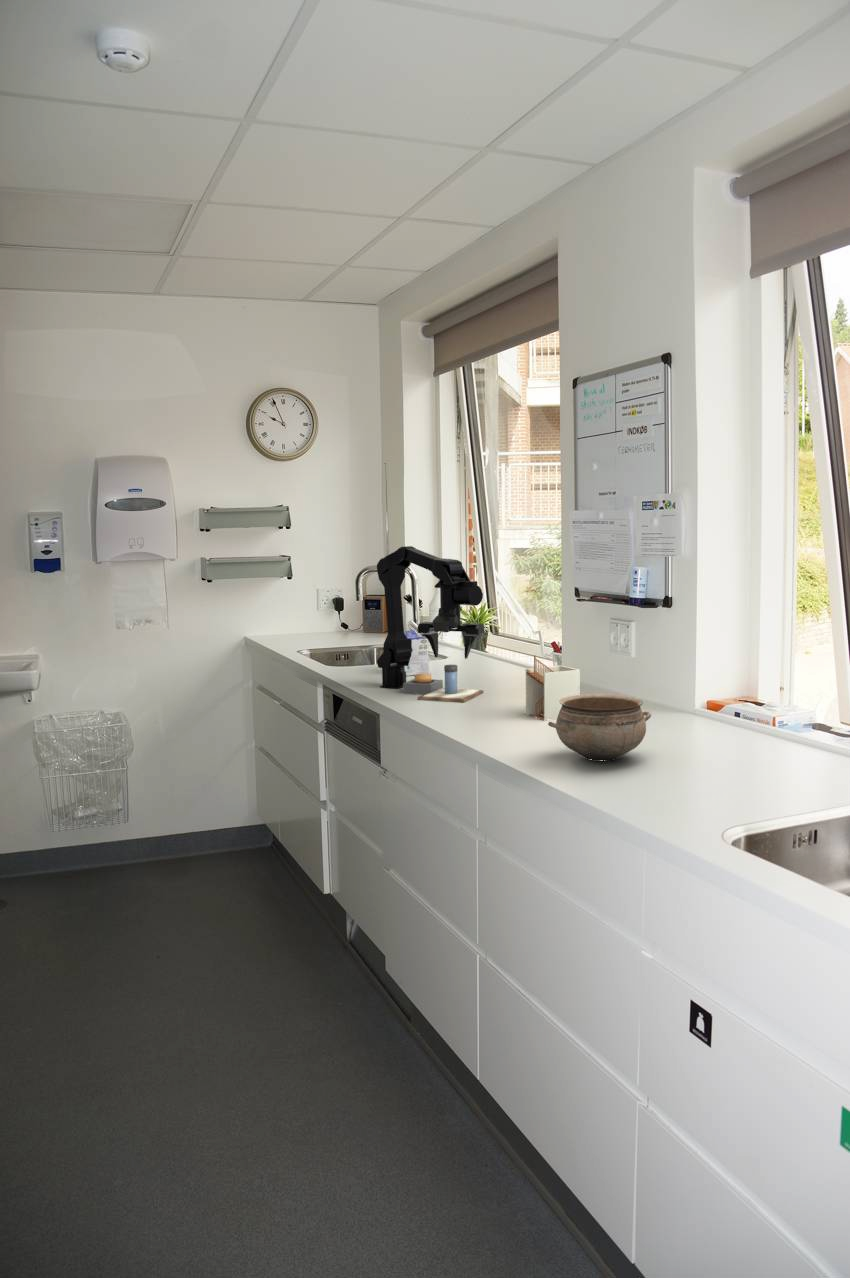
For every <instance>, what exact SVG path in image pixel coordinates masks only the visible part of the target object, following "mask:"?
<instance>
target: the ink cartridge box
mask: <svg viewBox="0 0 850 1278" xmlns="http://www.w3.org/2000/svg"><path fill="white" fill-rule="evenodd" d="M410 633H411V634H410ZM404 634H405V635H406V637H407V638H408V639H409V638H411V640H412V650H413V652H412V654H411V657H410V661H409V665H408V666H405V671H406V677H410V676H415V674H430V666H429V661H430V660H429V641H428V639H427V638H426V637H425V636H418V635H417V633H416V630H404Z"/></svg>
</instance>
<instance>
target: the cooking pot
mask: <svg viewBox="0 0 850 1278" xmlns="http://www.w3.org/2000/svg"><path fill="white" fill-rule="evenodd" d="M559 702H560V704H562V707H561V709H560V712H559V714H558V717H557V719H556V721H555V722H553V721H549V722H548V723H547V724H548V725H547V726H548V727H551V728H555V731H556V734H557V736H558V738H559V740H560V742H562V744H563V745H565V746H566V748H568V749H570V750H571V751H572V752H574V753H575V754H577V755H580V756H581V757H583V758H584V757H585V758H584V759H586V758H587V759H586V760H588V759H592V760H603V761H602V762H605V761H604V760H612V761H614V760H613V759H615V760H616V758H617V759H618V758H620V757H622V756H624V755H626V754H628V753H629V752H631V751H633V750H635V749H636V748H638V746H639V745H640V744H641V743H642V742H643V740H644V738H645V736H646V732H647V723H646V722H648V721H649V719H650V718H651V717H652V712H650V711H648V710H647V711H646V710H645V711H643V710H642V708H641V706H642V705H643V704H644V701H642V699H640V698H638V697H634V696H627V695H620V694H611V693H610V694H608V693H594V694H593V693H590V694H589V693H587V694H580V695H574V696H568V697H565V698H562V699H560V701H559Z"/></svg>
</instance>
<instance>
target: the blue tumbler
mask: <svg viewBox="0 0 850 1278" xmlns="http://www.w3.org/2000/svg"><path fill="white" fill-rule="evenodd" d="M443 669H444V670H443V671H444V688H445V693H446V694H456V693H457V689H458V664H444V668H443Z"/></svg>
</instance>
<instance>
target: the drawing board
mask: <svg viewBox="0 0 850 1278" xmlns="http://www.w3.org/2000/svg"><path fill="white" fill-rule="evenodd" d="M482 694H484V689H483V690H482V689H467V688H457V693H456V694H446V693H445V687H443V688H440V689H437V690H435V691H433V692H429V693H426V694H421V695H420V696H418V697H417V699H418V701H431V702H433V701H434V702H447V703H449V702H450V703H467V702H468V701H470V700H472V699H474V698H477V697H478V696H481V695H482Z"/></svg>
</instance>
